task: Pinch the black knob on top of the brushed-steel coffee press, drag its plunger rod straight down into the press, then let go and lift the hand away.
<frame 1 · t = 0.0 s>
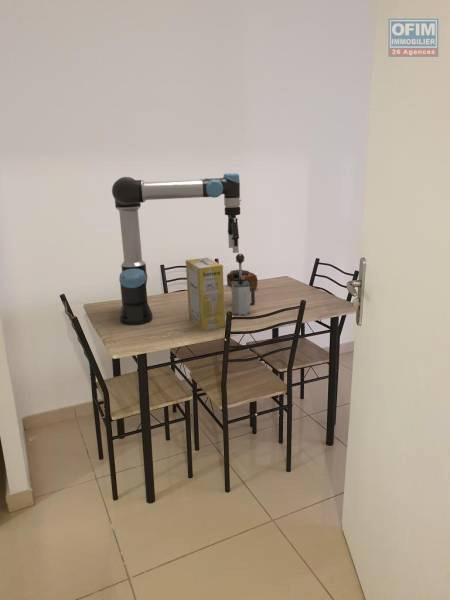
hand: (233, 250, 230), 28 cm above the table, fingers open, 13 cm apart
bread: (241, 288, 268), on the table
plunger: (240, 269, 218), point 22 cm above the table, slide at 0.0 cm
pasta box: (206, 322, 213), on the table
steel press: (241, 312, 225), on the table
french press: (240, 304, 238), on the table
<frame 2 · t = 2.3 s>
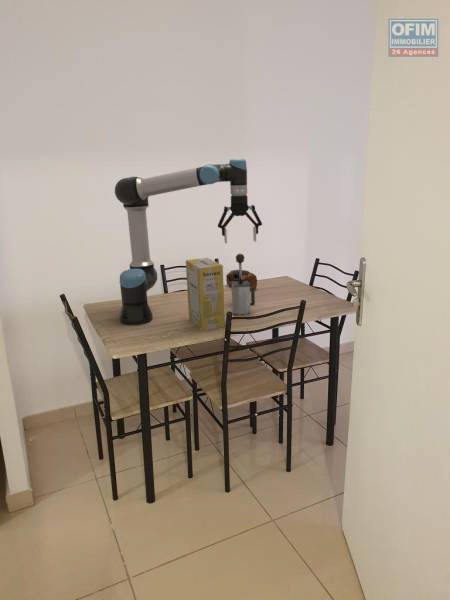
hand: (240, 242, 214), 34 cm above the table, fingers open, 13 cm apart
nothing on the table moved.
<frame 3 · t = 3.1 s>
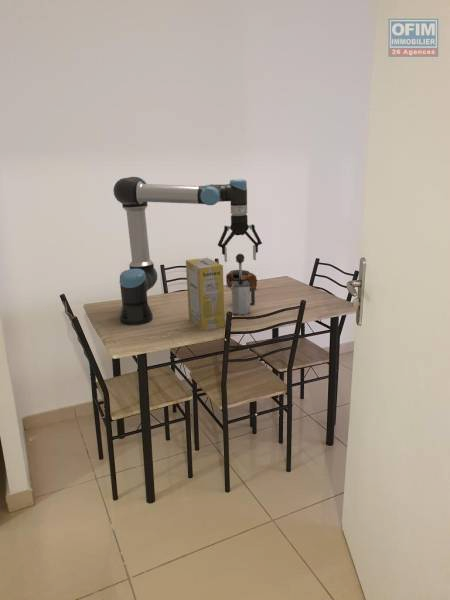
hand: (240, 260, 217), 26 cm above the table, fingers open, 13 cm apart
nothing on the table moved.
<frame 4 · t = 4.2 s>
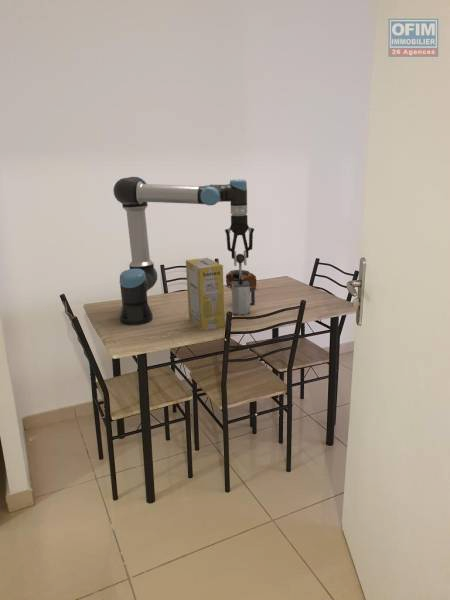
hand: (240, 265, 218), 24 cm above the table, fingers closed on plunger, 4 cm apart
plunger: (240, 269, 218), point 22 cm above the table, slide at 0.0 cm, touching gripper
everything else where it was.
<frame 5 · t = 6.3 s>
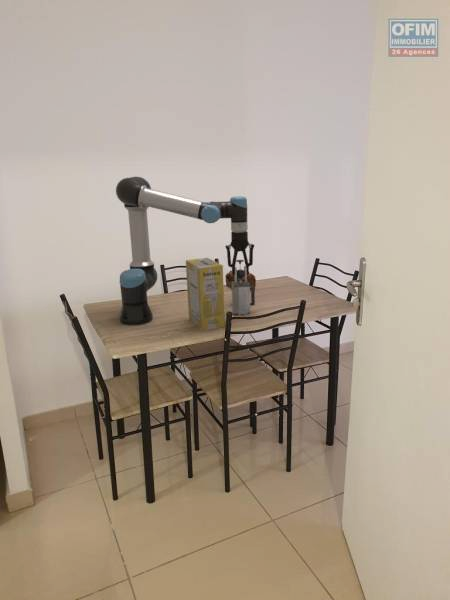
hand: (240, 280, 220), 16 cm above the table, fingers closed on plunger, 4 cm apart
plunger: (240, 284, 220), point 14 cm above the table, slide at 7.5 cm, touching gripper
everything else where it was.
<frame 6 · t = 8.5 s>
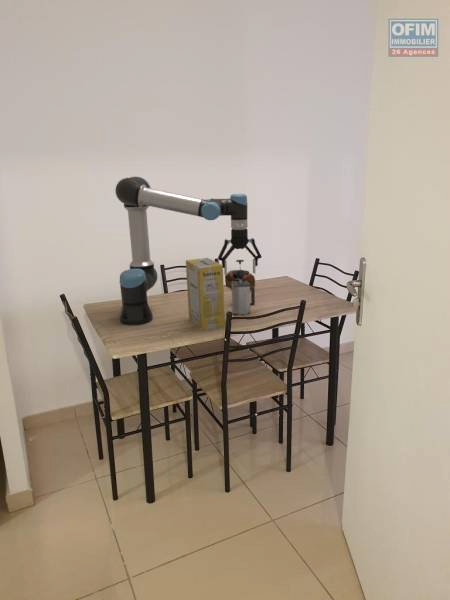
hand: (239, 273, 219), 19 cm above the table, fingers open, 13 cm apart
plunger: (240, 284, 220), point 14 cm above the table, slide at 7.6 cm
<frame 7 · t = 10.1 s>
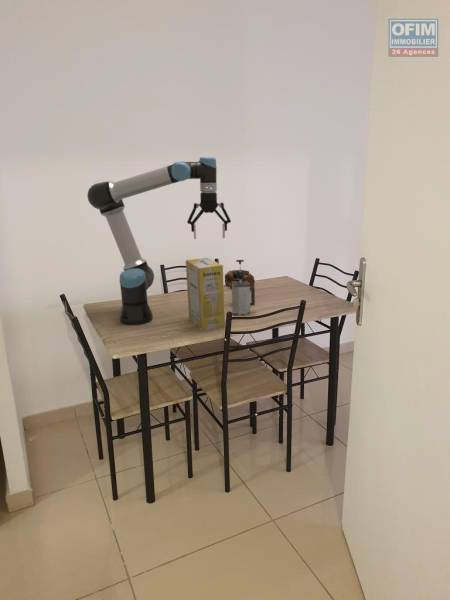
hand: (209, 238, 220), 36 cm above the table, fingers open, 13 cm apart
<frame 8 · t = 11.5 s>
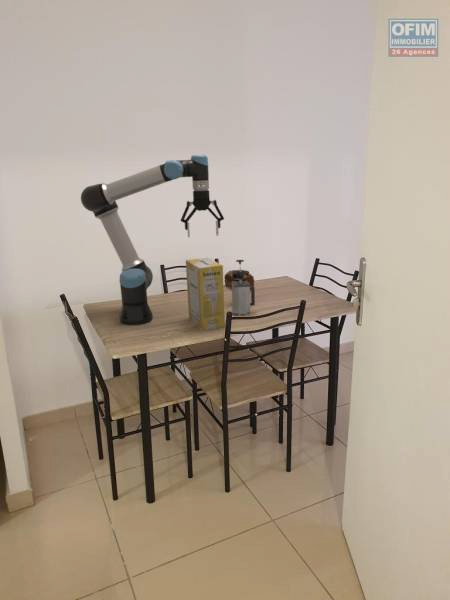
hand: (203, 236, 221), 37 cm above the table, fingers open, 13 cm apart
at the end: plunger slide at 7.6 cm; the gripper is holding nothing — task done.
